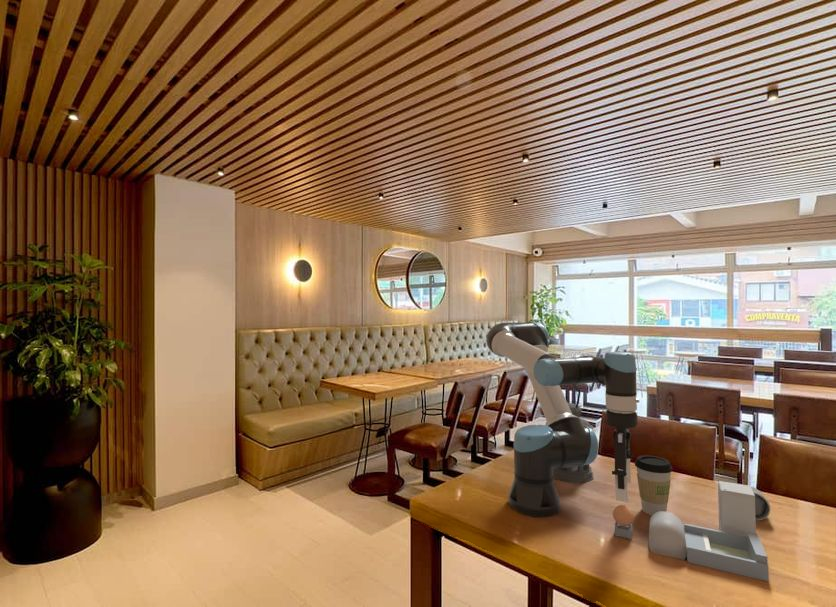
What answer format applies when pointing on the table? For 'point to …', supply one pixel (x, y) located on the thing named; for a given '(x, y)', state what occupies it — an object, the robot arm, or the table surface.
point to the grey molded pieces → (704, 545)
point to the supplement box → (736, 508)
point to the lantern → (576, 473)
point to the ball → (623, 515)
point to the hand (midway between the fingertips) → (623, 490)
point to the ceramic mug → (760, 505)
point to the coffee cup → (653, 482)
